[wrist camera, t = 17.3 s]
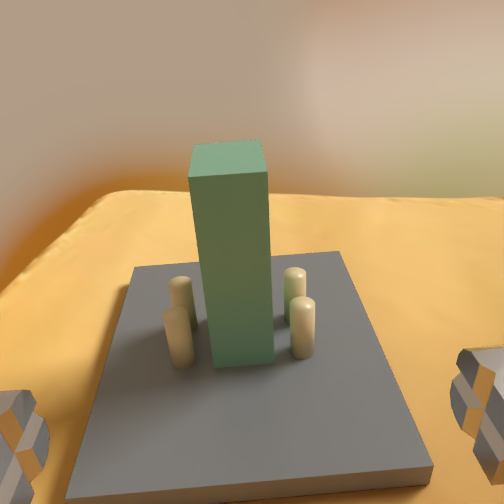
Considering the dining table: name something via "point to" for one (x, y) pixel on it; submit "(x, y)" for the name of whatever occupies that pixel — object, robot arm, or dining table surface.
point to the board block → (234, 249)
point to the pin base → (246, 399)
